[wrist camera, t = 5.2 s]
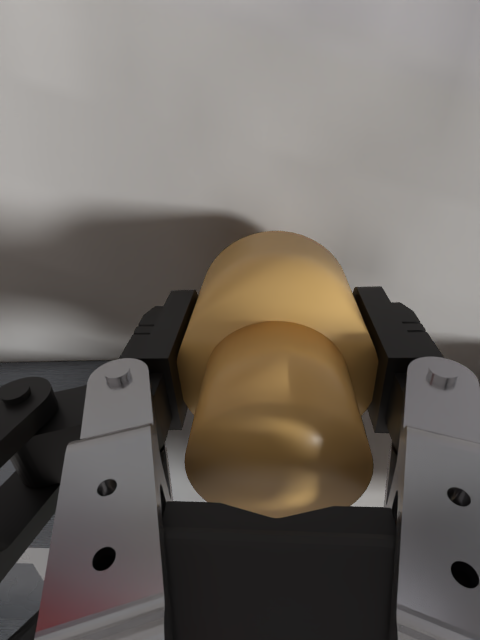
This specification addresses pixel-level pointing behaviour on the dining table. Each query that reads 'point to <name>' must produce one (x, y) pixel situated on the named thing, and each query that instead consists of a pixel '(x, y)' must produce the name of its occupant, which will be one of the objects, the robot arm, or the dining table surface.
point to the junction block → (29, 571)
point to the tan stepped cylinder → (277, 380)
